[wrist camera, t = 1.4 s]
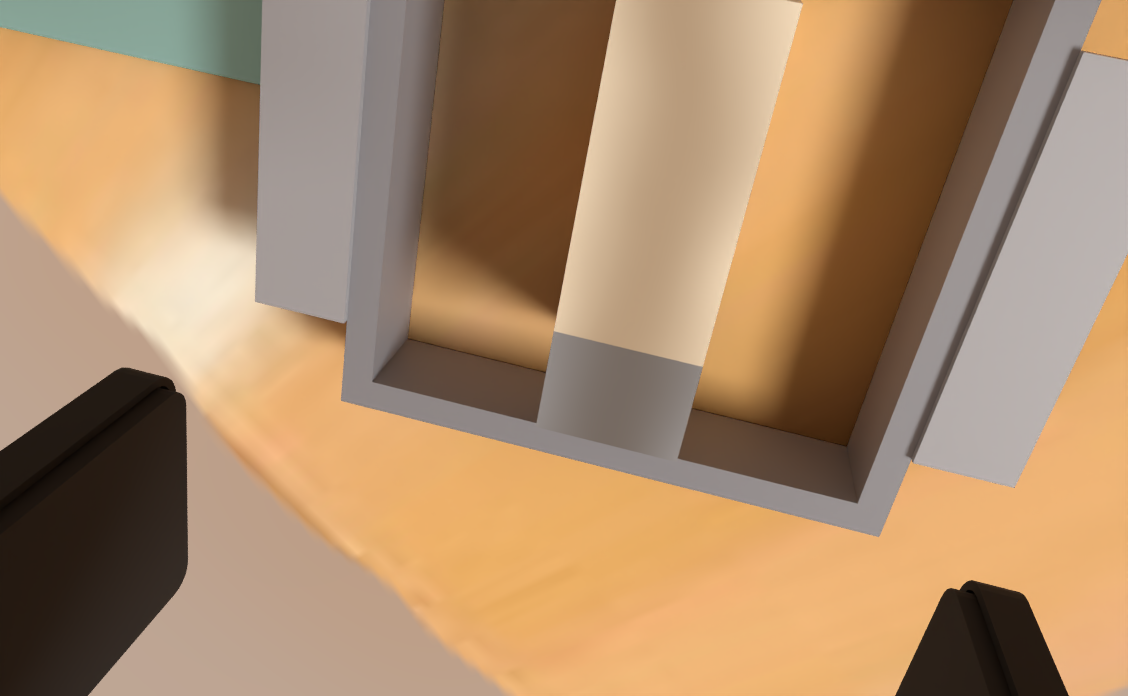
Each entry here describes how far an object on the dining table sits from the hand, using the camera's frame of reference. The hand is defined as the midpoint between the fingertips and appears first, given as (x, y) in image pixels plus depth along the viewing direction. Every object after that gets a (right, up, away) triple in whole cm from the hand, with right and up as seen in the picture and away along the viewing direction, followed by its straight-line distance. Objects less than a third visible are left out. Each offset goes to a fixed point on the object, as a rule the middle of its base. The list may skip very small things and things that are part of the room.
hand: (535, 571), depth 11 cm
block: (+4, +8, +18) cm, 20 cm away
